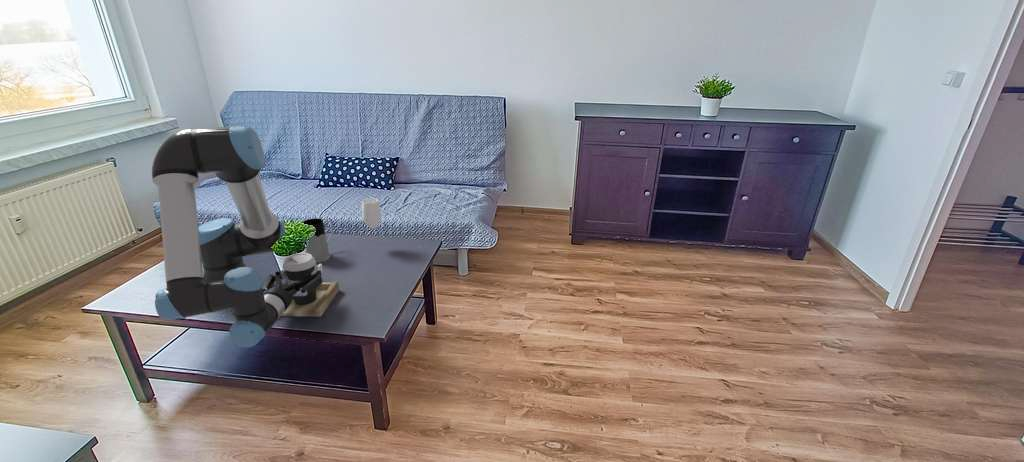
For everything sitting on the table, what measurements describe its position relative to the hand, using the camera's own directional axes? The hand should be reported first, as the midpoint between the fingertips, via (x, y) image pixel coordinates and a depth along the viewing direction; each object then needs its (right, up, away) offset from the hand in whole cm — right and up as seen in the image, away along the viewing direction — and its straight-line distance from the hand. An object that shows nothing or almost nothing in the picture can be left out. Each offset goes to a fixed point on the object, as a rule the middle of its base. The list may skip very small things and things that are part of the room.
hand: (306, 267), depth 150 cm
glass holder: (-8, +2, +32) cm, 33 cm away
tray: (0, -11, 0) cm, 11 cm away
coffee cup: (0, -11, 0) cm, 11 cm away
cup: (+12, +4, +38) cm, 40 cm away
